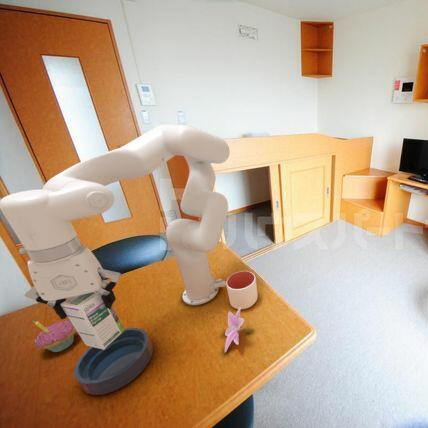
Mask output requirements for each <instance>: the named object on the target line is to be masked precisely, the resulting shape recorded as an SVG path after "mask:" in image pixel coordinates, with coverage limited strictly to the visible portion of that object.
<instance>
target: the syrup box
mask: <svg viewBox="0 0 428 428" xmlns="http://www.w3.org/2000/svg"><path fill="white" fill-rule="evenodd" d="M102 295H103V294H101V293H99V292H97V291H95V292H92V293H87V294H83V295H78V296H73V297H69V298H67V299H66V301H65V302H63V303H61V304H60V305H61V307H62V309H63V310H64V312H65V313H66V315H67V318H68V319H69V321H71V323H72V324H73V326H74V327H75V329H76V332H77V333H78V335H79V337H80V339H81V340H82V341H83V343H84V345H85V346H87V347H95V348H99V349H103V350H104V349H105V348H106V347H107V346H108V345H109V344H110V343H111V342H113V341H114V340H115V339H116V338H117V337H118V336H119V335H120V334H121V333H123V332H124V329H125V328H124V326H123V324H122V323H121V321H120V319H119V316H118V313H116V310H115V308H114V307H113V305H112V307H111V308H106V306H105V304H104V302H103V300H102V298H101V296H102Z"/></svg>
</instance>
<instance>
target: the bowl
mask: <svg viewBox="0 0 428 428" xmlns="http://www.w3.org/2000/svg"><path fill="white" fill-rule="evenodd" d="M153 353H154V347H153V343H152V342H151V339H150V336H149V334H148V333H147V332H146V331H145V330H144V329H142V328H138V327H126V328H124V332H123V333H121V334H120V335H119V336H118V337H117V338H116V339H115V340H114V341H113V342H111V343H110V344H109V345H108V346H107V347H106V348H105V349H104V350H103V349H99V348H95V347H91V346H89V348H88V349H86V350H85V351H84V353H82V355H81V356H80V357H79V358H78V360H77V363H76V364H75V366H74V368H73V369H74V371H73V376H74V378H75V379H76V381H77V383H78V384H79V386H80V387H81V388H82V389H83V392H84V393H86V394H89V395H91V396H100V395H101V396H102V395H107V394H110V393H113V392H116V391H118V390H119V389H121V388H123V387H125V386H127V385H128V384H129V383H131V382H132V381H133V380H135V379H136V378H137V377H139V375H140V374H141V373H142V372H143V371H144V370H145V369H146V368H147V367H148V365H149V363H150V361H151V359H152V357H153Z"/></svg>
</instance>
